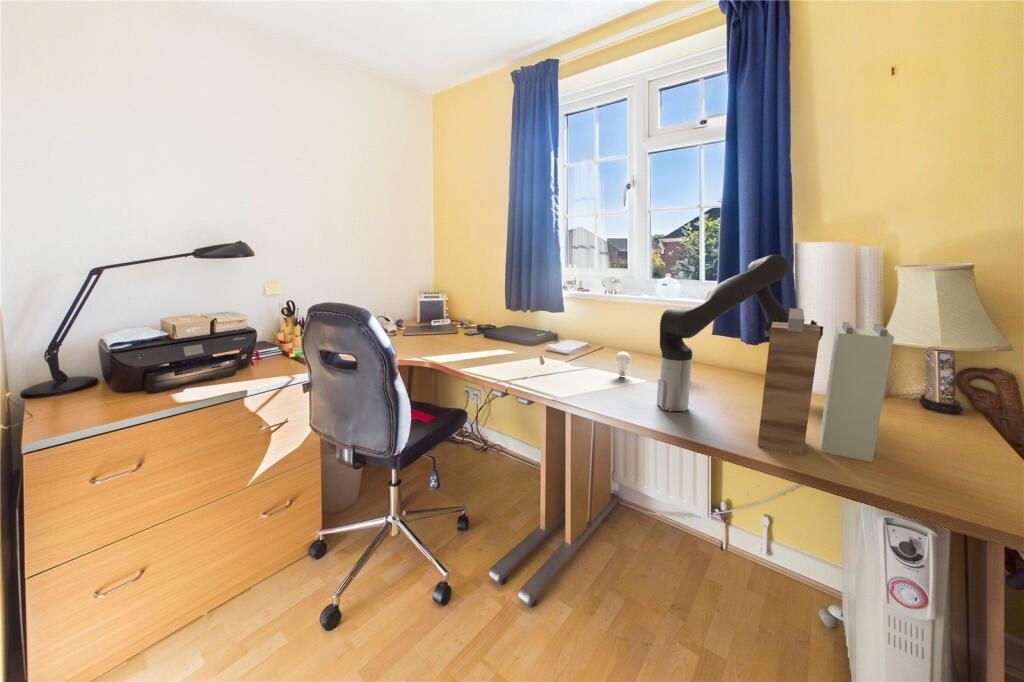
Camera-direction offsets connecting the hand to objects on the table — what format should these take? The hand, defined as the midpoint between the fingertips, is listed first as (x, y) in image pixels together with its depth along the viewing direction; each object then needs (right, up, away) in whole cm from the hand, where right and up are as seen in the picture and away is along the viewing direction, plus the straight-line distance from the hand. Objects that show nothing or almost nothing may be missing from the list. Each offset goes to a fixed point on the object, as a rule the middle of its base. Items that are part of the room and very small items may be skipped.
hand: (794, 322), depth 118 cm
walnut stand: (-8, -33, -6) cm, 34 cm away
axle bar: (-7, -1, -11) cm, 13 cm away
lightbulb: (-34, -21, +56) cm, 69 cm away
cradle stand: (+7, -33, -10) cm, 35 cm away
